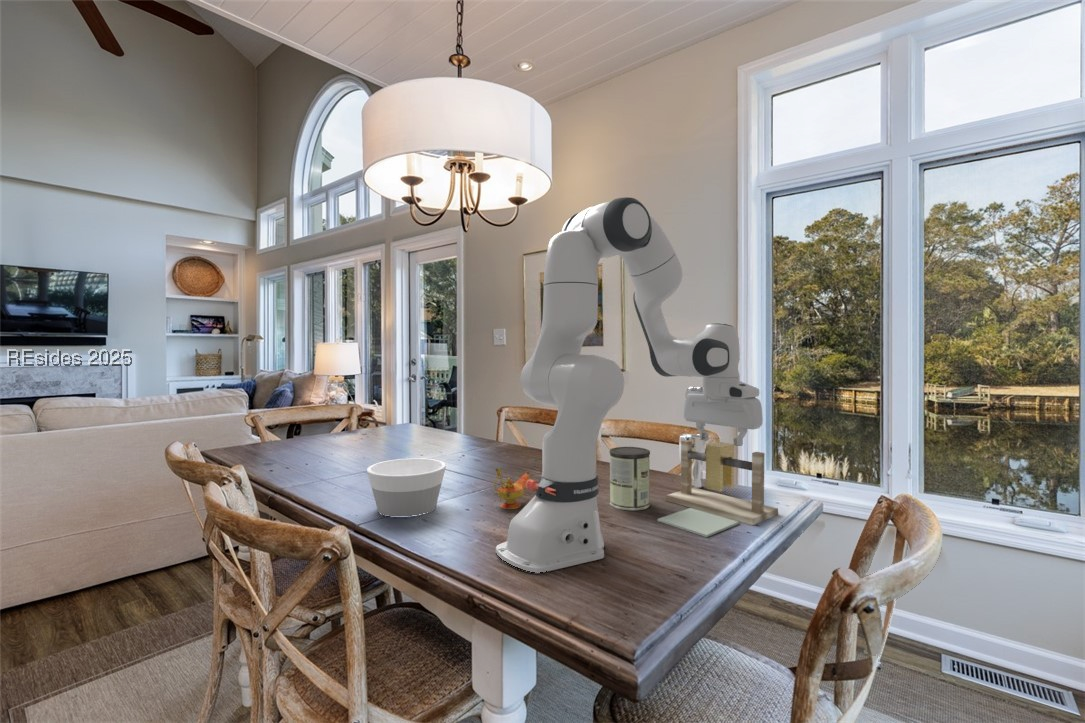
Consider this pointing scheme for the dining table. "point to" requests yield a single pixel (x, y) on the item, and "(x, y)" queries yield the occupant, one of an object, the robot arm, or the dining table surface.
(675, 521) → the mat
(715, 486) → the tan upright block
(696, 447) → the beer glass
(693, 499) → the stand
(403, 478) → the bowl
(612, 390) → the robot arm
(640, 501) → the coffee can
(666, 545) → the dining table surface
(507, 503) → the magic lamp
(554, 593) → the dining table surface
